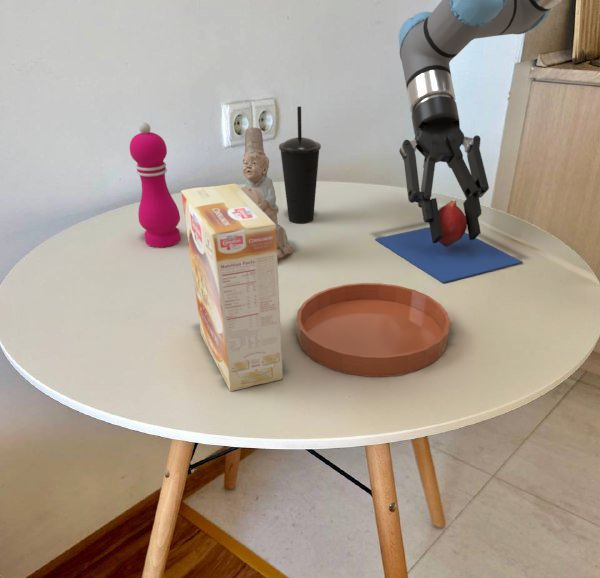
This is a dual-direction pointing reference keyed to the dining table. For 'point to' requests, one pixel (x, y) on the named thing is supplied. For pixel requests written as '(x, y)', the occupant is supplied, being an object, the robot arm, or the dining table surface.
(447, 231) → the onion
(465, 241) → the blue cloth
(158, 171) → the pepper mill
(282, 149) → the drinking cup
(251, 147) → the figurine
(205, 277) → the coffeecake box
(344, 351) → the bowl
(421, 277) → the dining table surface
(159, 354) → the dining table surface
